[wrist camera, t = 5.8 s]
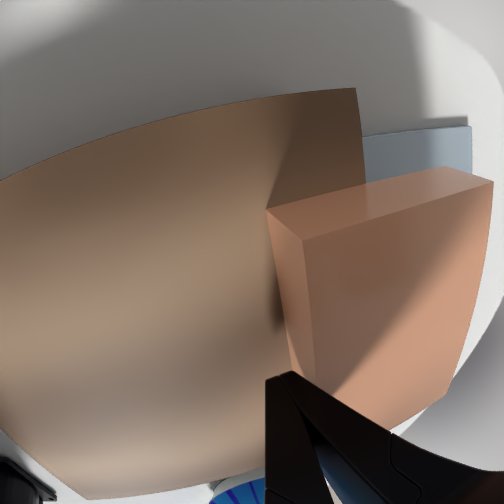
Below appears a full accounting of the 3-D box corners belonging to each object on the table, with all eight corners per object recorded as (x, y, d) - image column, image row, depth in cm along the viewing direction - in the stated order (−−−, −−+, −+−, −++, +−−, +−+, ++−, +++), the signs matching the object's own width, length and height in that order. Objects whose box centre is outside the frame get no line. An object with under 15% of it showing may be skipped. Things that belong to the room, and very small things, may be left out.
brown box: (323, 375, 16) (358, 427, 13) (88, 441, 14) (87, 500, 10) (291, 94, 10) (355, 87, 7) (-55, 212, 8) (-113, 252, 4)
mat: (453, 298, 18) (457, 301, 17) (322, 364, 16) (325, 368, 16) (465, 125, 13) (471, 126, 13) (300, 147, 11) (304, 149, 11)
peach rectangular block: (419, 367, 12) (445, 394, 11) (300, 426, 11) (320, 464, 10) (444, 165, 8) (493, 181, 7) (265, 209, 7) (302, 240, 6)
